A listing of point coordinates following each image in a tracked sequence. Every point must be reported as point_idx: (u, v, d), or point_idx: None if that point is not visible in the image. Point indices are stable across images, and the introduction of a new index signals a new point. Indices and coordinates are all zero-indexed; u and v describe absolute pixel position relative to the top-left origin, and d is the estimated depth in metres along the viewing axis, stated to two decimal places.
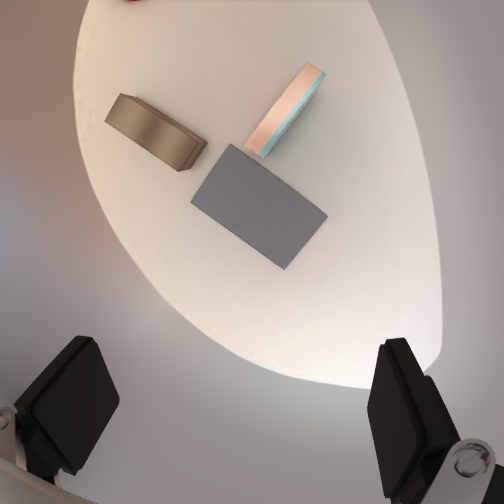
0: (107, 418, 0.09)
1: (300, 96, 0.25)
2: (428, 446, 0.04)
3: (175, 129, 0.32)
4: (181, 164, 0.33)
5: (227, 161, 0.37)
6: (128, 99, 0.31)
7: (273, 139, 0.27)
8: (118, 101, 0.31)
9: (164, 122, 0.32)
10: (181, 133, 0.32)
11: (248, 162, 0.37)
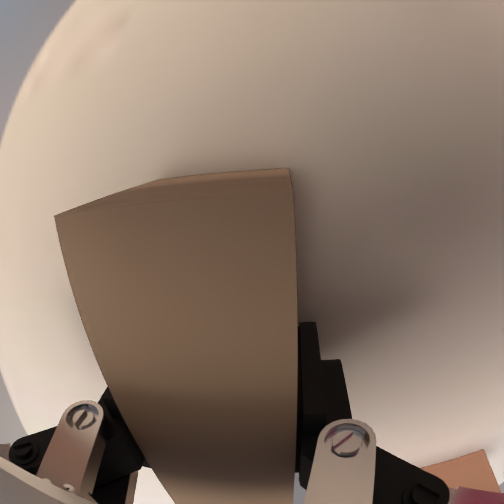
0: None
1: None
2: (303, 418, 0.06)
3: None
4: None
5: None
6: (288, 296, 0.05)
7: None
8: (223, 226, 0.04)
9: (288, 484, 0.06)
10: None
11: None
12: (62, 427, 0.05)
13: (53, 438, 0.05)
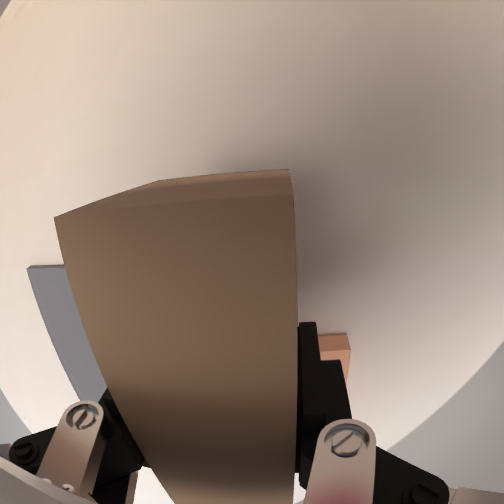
0: None
1: None
2: (302, 418, 0.06)
3: None
4: None
5: None
6: (288, 298, 0.05)
7: None
8: (223, 228, 0.04)
9: (288, 485, 0.06)
10: None
11: None
12: (62, 427, 0.05)
13: (53, 438, 0.05)
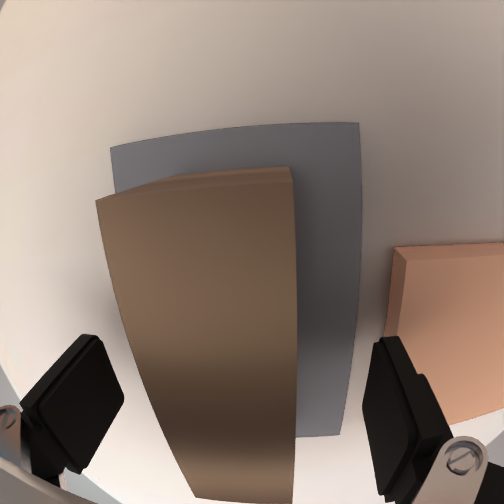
0: (112, 417, 0.09)
1: None
2: (420, 443, 0.04)
3: (289, 472, 0.08)
4: (216, 498, 0.10)
5: (303, 152, 0.10)
6: (289, 263, 0.06)
7: None
8: (239, 208, 0.06)
9: (289, 448, 0.08)
10: (289, 483, 0.08)
11: (348, 215, 0.10)
12: None
13: None
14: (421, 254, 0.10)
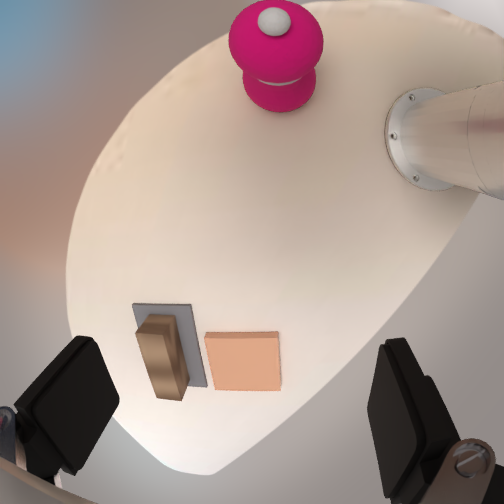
0: (107, 418, 0.09)
1: None
2: (428, 446, 0.04)
3: (176, 386, 0.40)
4: (162, 398, 0.41)
5: (177, 312, 0.41)
6: (164, 344, 0.37)
7: None
8: (156, 337, 0.37)
9: (173, 378, 0.39)
10: (177, 390, 0.40)
11: (190, 326, 0.42)
12: None
13: None
14: (210, 336, 0.41)
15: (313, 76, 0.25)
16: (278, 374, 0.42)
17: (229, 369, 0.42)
